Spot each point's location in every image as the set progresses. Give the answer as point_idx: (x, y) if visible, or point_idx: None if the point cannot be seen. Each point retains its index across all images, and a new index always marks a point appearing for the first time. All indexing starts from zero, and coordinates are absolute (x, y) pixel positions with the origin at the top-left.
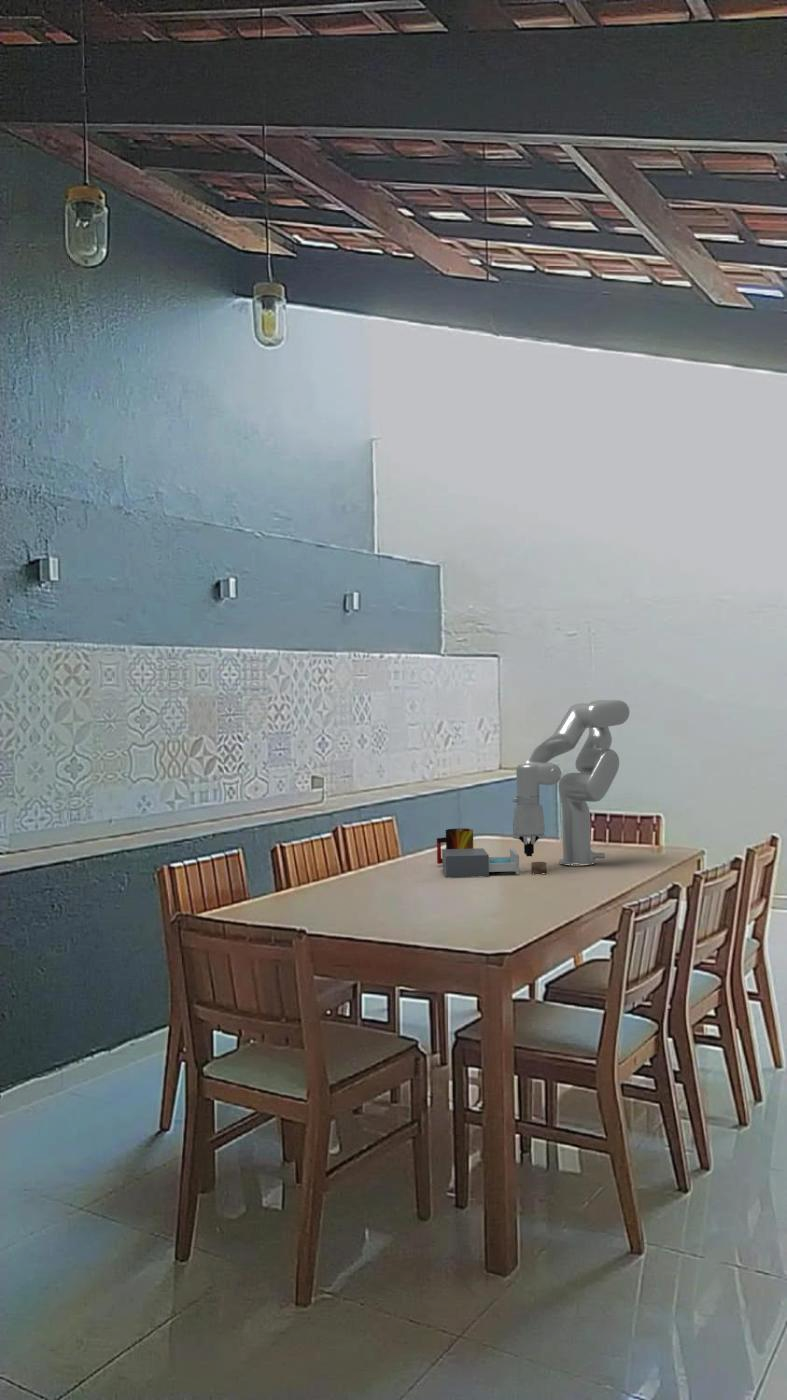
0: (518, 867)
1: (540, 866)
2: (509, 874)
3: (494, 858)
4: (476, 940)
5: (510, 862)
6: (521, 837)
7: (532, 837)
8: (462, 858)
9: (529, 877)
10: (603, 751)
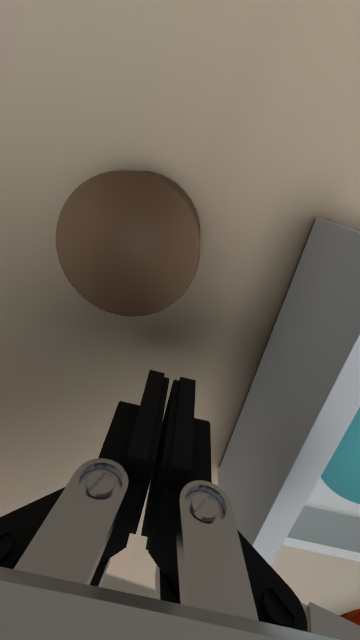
0: (342, 227)
1: (141, 172)
2: None
3: (353, 544)
4: None
5: None
6: (279, 620)
7: (81, 564)
8: None
9: (296, 63)
10: None
